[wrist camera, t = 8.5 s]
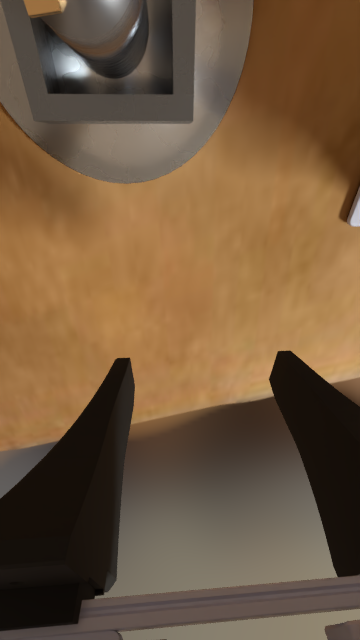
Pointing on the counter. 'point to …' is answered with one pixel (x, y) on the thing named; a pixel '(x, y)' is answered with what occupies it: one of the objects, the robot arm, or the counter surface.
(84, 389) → the counter surface
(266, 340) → the counter surface
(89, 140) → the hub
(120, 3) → the shaft
